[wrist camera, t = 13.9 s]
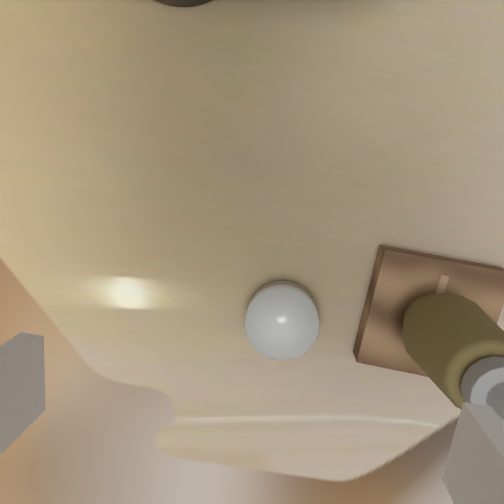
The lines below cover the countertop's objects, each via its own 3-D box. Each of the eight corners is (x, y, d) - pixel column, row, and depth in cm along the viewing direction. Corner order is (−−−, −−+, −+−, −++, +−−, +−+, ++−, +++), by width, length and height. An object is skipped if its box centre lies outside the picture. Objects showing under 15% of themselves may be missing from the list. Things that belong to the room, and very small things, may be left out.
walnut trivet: (379, 245, 42) (385, 249, 39) (500, 267, 41) (514, 273, 38) (353, 351, 44) (356, 362, 42) (465, 374, 44) (476, 387, 41)
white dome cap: (242, 286, 44) (237, 297, 40) (309, 274, 43) (311, 283, 39) (256, 349, 46) (253, 365, 42) (322, 338, 44) (325, 353, 41)
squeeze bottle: (428, 267, 39) (539, 344, 21) (489, 314, 39) (646, 427, 22) (376, 324, 41) (438, 437, 23) (434, 368, 41) (538, 513, 24)
